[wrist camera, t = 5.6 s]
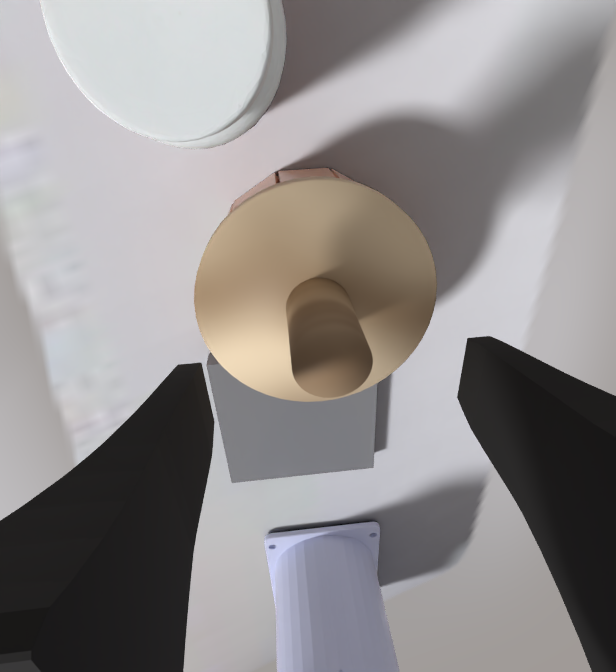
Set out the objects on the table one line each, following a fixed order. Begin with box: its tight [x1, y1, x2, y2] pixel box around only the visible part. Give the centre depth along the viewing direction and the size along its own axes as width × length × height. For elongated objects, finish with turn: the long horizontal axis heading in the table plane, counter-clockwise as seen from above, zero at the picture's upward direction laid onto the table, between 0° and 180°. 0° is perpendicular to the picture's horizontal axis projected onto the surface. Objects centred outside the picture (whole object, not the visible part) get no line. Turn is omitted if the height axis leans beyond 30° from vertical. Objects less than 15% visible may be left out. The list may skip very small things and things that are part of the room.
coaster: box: [207, 354, 377, 483], centre depth 23 cm, size 8×8×1 cm
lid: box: [194, 176, 437, 402], centre depth 14 cm, size 9×9×5 cm
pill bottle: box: [40, 0, 287, 149], centre depth 11 cm, size 5×5×8 cm
